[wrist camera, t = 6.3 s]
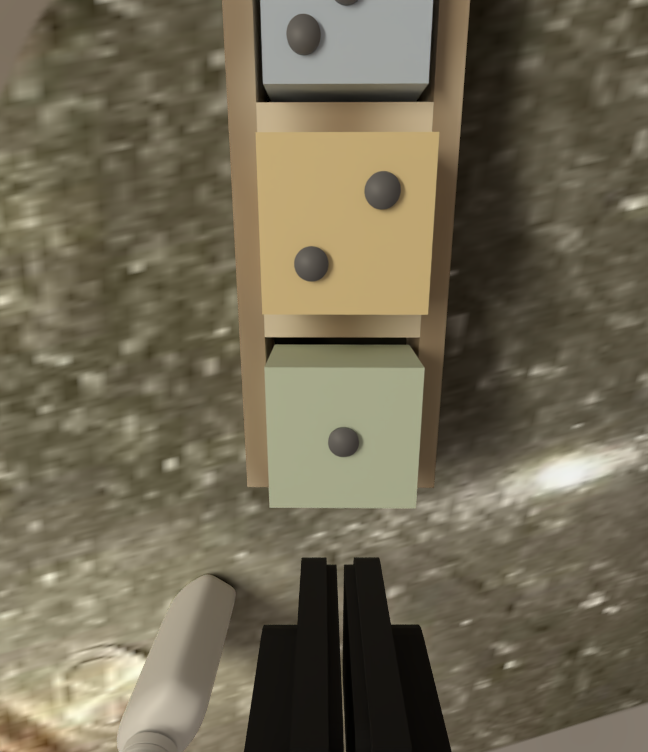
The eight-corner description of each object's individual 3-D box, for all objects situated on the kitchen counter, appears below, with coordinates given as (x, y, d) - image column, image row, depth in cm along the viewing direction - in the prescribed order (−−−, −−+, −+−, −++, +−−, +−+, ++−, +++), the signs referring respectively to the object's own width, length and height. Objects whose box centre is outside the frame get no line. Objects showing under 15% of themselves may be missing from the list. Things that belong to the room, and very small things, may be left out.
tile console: (454, -81, 20) (480, -144, 16) (420, 454, 27) (433, 487, 24) (234, -79, 20) (214, -142, 17) (258, 453, 27) (247, 486, 24)
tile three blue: (419, -62, 19) (441, -130, 16) (411, 107, 21) (429, 81, 17) (269, -61, 20) (255, -128, 16) (273, 107, 21) (262, 82, 18)
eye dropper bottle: (256, 618, 30) (212, 855, 19) (178, 647, 31) (90, 892, 20) (223, 564, 29) (154, 782, 18) (143, 596, 30) (27, 825, 19)
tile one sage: (409, 344, 22) (425, 369, 18) (402, 465, 24) (416, 511, 20) (275, 344, 22) (263, 368, 18) (278, 465, 24) (268, 510, 20)
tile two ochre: (419, 148, 19) (440, 130, 16) (411, 299, 21) (429, 315, 17) (268, 149, 20) (254, 130, 16) (273, 299, 21) (261, 315, 18)
